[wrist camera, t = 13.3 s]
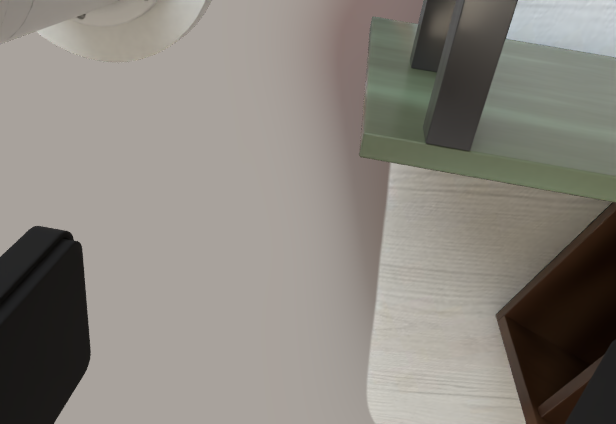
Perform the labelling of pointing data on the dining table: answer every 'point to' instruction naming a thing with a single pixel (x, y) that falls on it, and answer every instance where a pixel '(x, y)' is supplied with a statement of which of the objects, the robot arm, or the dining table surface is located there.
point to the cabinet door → (489, 101)
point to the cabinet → (563, 324)
